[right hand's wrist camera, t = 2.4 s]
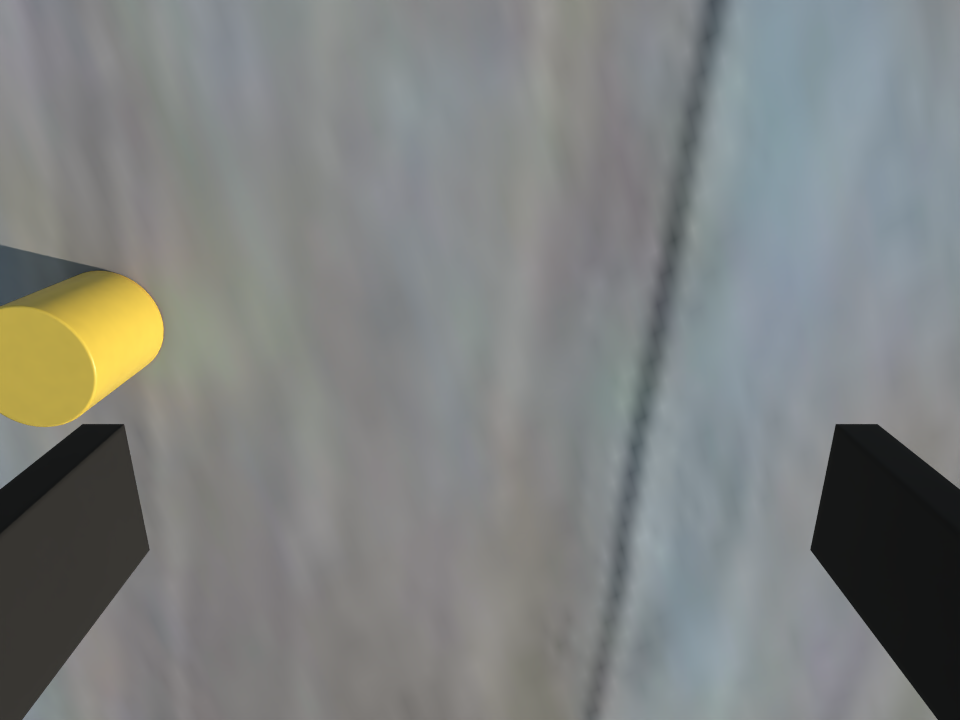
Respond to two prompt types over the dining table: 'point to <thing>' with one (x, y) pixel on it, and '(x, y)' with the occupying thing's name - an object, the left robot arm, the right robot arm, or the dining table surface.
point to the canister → (74, 346)
